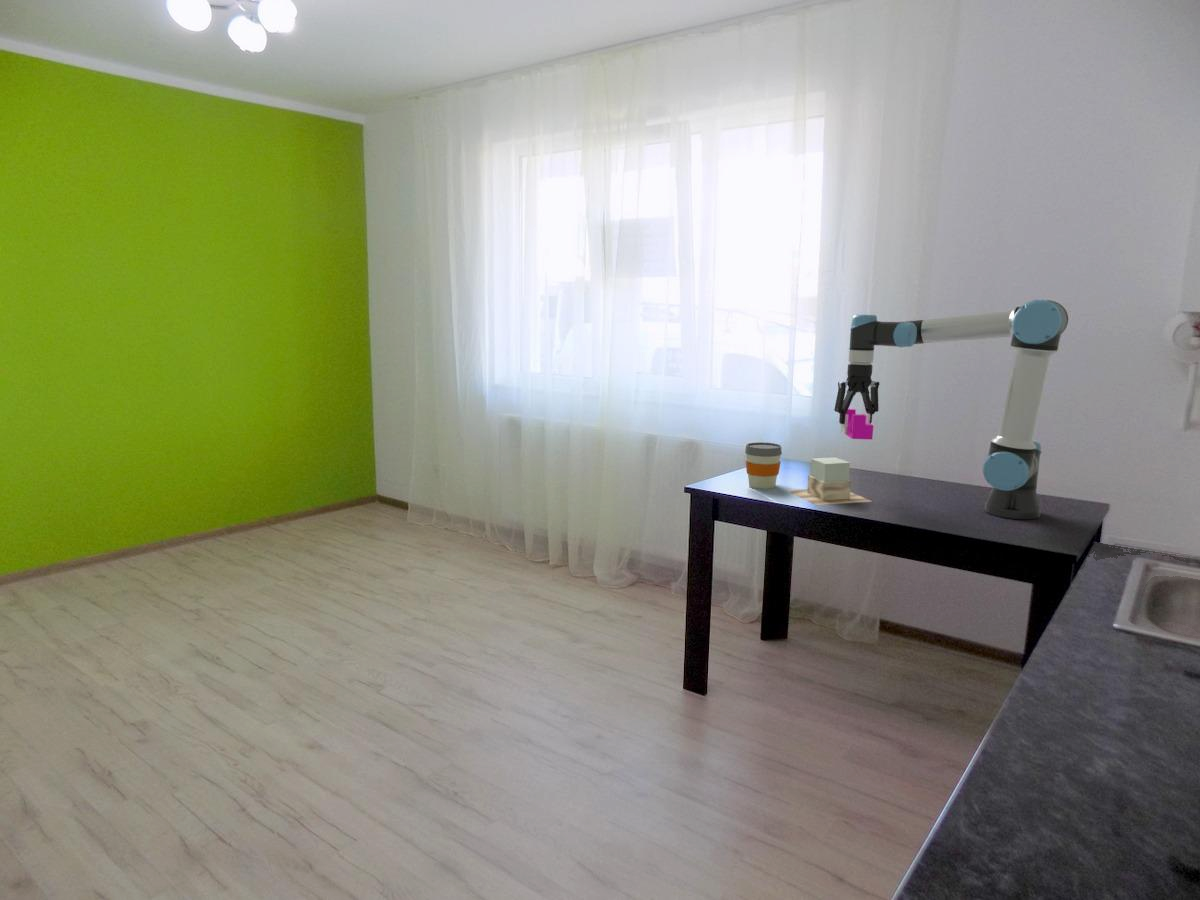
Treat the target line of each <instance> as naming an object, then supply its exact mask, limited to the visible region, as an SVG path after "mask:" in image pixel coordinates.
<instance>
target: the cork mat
mask: <svg viewBox="0 0 1200 900" xmlns="http://www.w3.org/2000/svg"><path fill="white" fill-rule="evenodd" d="M807 490H808V488H806V489H805V488H804V489H789V490H788V489H787V490H786V491H787V492H789V493H791V494H793V495H795V496H797V497H799V498H801V499H803V500H805V501H807V502H810V503H811V504H813V505H815V506H822V505H824V506H825V505H839V504H840V505H841V504H853V503H856V504H857V503H869V502H870V503H871V502H872V500H870V499H867V498H865V497H863V496H862V495H861V496H860V495H858V494H856V493H853V492H851V491H850V498H849V499H834V500H821V499H819V498H817V497H815V496H813V495H810V494H808V493H807Z"/></svg>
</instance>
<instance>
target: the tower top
mask: <svg viewBox="0 0 1200 900" xmlns="http://www.w3.org/2000/svg"><path fill="white" fill-rule="evenodd" d="M850 466H851V462H849V461H847V460H844V459H841V458H838V457H822V458H821V457H818V458H815V457H814V458H811V459H810V474H809V476H811V477H814V478H816V479H818V480H821V481H823V482H832V481H849V480H850V470H851V467H850Z"/></svg>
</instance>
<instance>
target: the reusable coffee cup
mask: <svg viewBox="0 0 1200 900" xmlns="http://www.w3.org/2000/svg"><path fill="white" fill-rule="evenodd" d="M782 451H783V450H782V445H781V444H778V443H774V442H773V443H772V442H762V441H761V442H748V443H747V444H746V445H745V453H744V454H745V457H746V459H745V467H746V474H747V477H748V487H749V489H753V490H754V489H763V490H764V489H773V488H775V487H776V483H777V477H778V475H779V474H780V469H781V468H780V467H781V461H780V460H781V455H783V453H782Z"/></svg>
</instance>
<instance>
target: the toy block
mask: <svg viewBox="0 0 1200 900" xmlns="http://www.w3.org/2000/svg"><path fill="white" fill-rule="evenodd" d="M856 411H857V410H856V409H855V408H848V411H847V413H846V414H848V427H847V435H846V436H847V437H849V438H851V440H873V435H874V425H873V424H872V423H866V415H864V413H863V414H860V413H859V414H858V413H857V412H856ZM856 413H857V414H856Z"/></svg>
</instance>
